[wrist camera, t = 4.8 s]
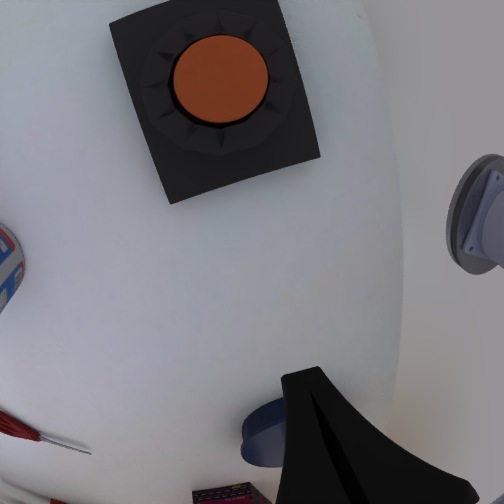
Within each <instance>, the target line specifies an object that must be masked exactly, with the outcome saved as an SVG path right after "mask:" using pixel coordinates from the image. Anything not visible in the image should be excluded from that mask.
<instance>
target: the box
mask: <svg viewBox="0 0 504 504" xmlns="http://www.w3.org/2000/svg"><path fill="white" fill-rule="evenodd" d="M192 496H193V504H272V503H271V502H270V501H269V500H268V499H267V498H265V497H264V496H263V495H262V494H261V493H260V492H259V491H258V490H257V489H256V488H255V487H254V486H253V485H252V484H251V483H250V482H247V483H243V484H237V485H232V486H226V487H220V488H214V489H207V490H200V491H192Z"/></svg>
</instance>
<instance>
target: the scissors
mask: <svg viewBox="0 0 504 504" xmlns="http://www.w3.org/2000/svg"><path fill="white" fill-rule="evenodd" d="M0 432H2V433H4V434H7V435H10V436H14V437H18V438H24V439H29V440H33V441H38V442H39V441H44V442H49V443H52V444H55V445H59V446H62V447H65V448H69V449H72V450H76V451H79V452H83V453H87V454H91V453H89V452H85V451H82V450H78V449H75V448H72V447H69V446H66V445H63V444H60V443H57V442H54V441H51V440H49V439H46V438H44V437H42V436H41V435H40V434H39V433H38V432H36V431H34V430H32V429H30V428H28V427H26V426H25V425H23V424H21V423H20V422H18V421H16V420H15V419H13V418H12V417H10V416H9V415H7V414H5V413H4V412H2V411H0Z"/></svg>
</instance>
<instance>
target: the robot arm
mask: <svg viewBox="0 0 504 504" xmlns="http://www.w3.org/2000/svg"><path fill="white" fill-rule="evenodd" d="M463 251H464V252H465V253H468V254H471V255H475V256H478V257H481V258H485V259H488V260H491V261H494V262H496V263H497V264H498V265H500V266H501V267H502V268H504V176H503V175H502V174H500V173H499V172H497V171H496V170H492V171H491V172H490V175H489V178H488V181H487V184H486V187H485V190H484V193H483V196H482V199H481V202H480V205H479V207H478V210H477V213H476V215H475V218H474V220H473V223H472V226H471V228H470V230H469V233H468V235H467V238H466V240H465V242H464V245H463ZM281 383H282V390H283V397H284V404H285V409H286V439H285V452H284V460H283V468H282V474H281V480H280V485H279V490H278V494H277V499H276V503H275V504H476V503H477V502H478V501H479V499H480V498H479V496H478V494H477V492H476V491H475V489H474V488H473V487H472V485H471V484H470V483H469V482H468V481H467V480H465V479H462V478H459V477H456V476H454V475H452V474H449V473H447V472H445V471H442V470H440V469H438V468H436V467H434V466H432V465H430V464H428V463H426V462H424V461H423V460H421V459H420V458H418V457H416V456H414V455H413V454H411V453H409V452H408V451H406V450H405V449H403V448H402V447H400V446H399V445H397V444H396V443H394V442H393V441H392V440H390V439H389V438H388V437H387V436H385V435H384V434H383V433H381V432H380V431H379V430H378V429H377V428H375V427H374V426H373V425H372V424H371V423H370V422H369V421H368V420H366V419H365V418H364V417H363V416H362V415H361V414H360V413H359V412H358V411H357V410H356V409H355V408H354V407H353V406H352V405H351V404H350V403H349V402H348V401H347V400H346V399H345V398H344V397H343V395H342V394H341V393H340V392H339V391H338V390H337V389H336V387H335V386H334V385H333V384H332V383H331V381H330V380H329V379H328V377H327V376H326V375H325V373H324V372H323V371H322V369H321V368H320V367H318V366H316V367H312V368H309V369H305V370H301V371H297V372H293V373H289V374H285V375H283V376H282V377H281ZM491 504H504V494H502V495H501V496H500V497H499V498H497V499H496V500H495V501H493V502H492V503H491Z"/></svg>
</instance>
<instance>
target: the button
mask: <svg viewBox="0 0 504 504" xmlns="http://www.w3.org/2000/svg"><path fill="white" fill-rule="evenodd" d="M267 84H268V73H267V68H266V65H265V62H264V60H263V58H262V56H261V55H260V54H259V52H258V51H257V50H256V49H255V48H254V47H253V46H252V45H250V44H249V43H247V42H246V41H244V40H241V39H239V38H236V37H232V36H223V35H219V36H212V37H207V38H204V39H202V40H200V41H198V42H196V43H194V44H193V45H191V46H190V47H189V48H188V49H187V50H186V51H185V52H184V53H183V54H182V56H181V57H180V59H179V61H178V63H177V65H176V68H175V71H174V89H175V93H176V95H177V98H178V99H179V101H180V103H181V104H182V105H183V107H184V108H185V109H186V110H187V111H188V112H190V113H191V114H192V115H194V116H196V117H197V118H200V119H202V120H205V121H209V122H215V123H224V122H230V121H234V120H237V119H240V118H242V117H244V116H246V115H247V114H249V113H250V112H251V111H253V110H254V109H255V108H256V107H257V106H258V104H259V103H260V102H261V100H262V98H263V96H264V94H265V92H266V89H267Z"/></svg>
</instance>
